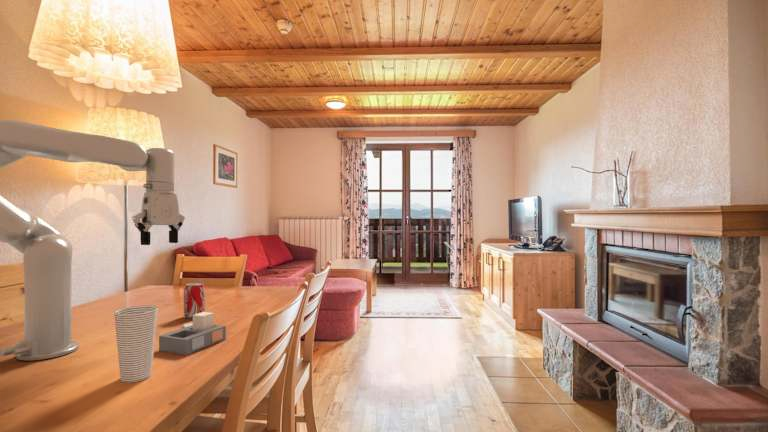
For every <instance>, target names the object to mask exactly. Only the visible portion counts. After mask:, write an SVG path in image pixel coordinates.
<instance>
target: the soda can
mask: <svg viewBox="0 0 768 432" xmlns="http://www.w3.org/2000/svg"><path fill="white" fill-rule="evenodd" d="M201 312H206V288H205V286H204V282H189V283H186V284H185V287H184V289H183V316H184V317H186V319H193V315H194V314H198V313H201Z"/></svg>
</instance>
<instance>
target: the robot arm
mask: <svg viewBox="0 0 768 432" xmlns="http://www.w3.org/2000/svg"><path fill="white" fill-rule="evenodd" d="M27 156H29V157H36V158H43V159H48V160H52V161H53V160H54V161H60V162H64V163H65V162H66V163H85V162H86V163H87V162H88V163H89V162H90V163H97V164H98V163H100V164H107V165H112V166H118V167H119V168H120V169H122V170H123V171H127V172H145V183H143V186H142V187H143V188H144V189H145V192H144V193H143V197H142V203H141V211H140V212H139V213H137V214H134V215H133V216H132V218H131V219H132V221H133V223H134V226H135V227H136V229H138V232H140V245H141V246H143V245H144V246H150V245H151V231H150V229H151V227H152V226H168V228H169V229H170V230H168V243H169V244H178V242H179V231H180V230H181V228H182V226H183V223H184V222H185V216H184V215H182V214H181V213H180V209H179V207H180V206H179V200H178V196H177V193H175V153H174V151H173V150H171V149H168V148H162V147H150V148H148V149H146V148H145V147H144V146H142V145H141V144H140V143H137V142H133V141H130V140H126V139H121V138H117V137H116V138H115V137H110V136H104V135H98V134H92V133H85V132H79V131H71V130H68V129H67V130H65V129H61V128H55V127H50V126H45V125H41V124H36V123H31V122H26V121H21V120H15V119H1V120H0V169H2V168H4V167H7V166H9V165H11V164H13V163H15V162H17V161H19V160H22V159H23V158H25V157H27ZM0 242H1V243H6V244H8V245H10V246H11V247H12V248H14V249H15V250H17V251H18V252H20V253H21V254H23V258H22V259H23V261H22V263H23V274H24V275H23V278H24V279H23V280H24V281H23V282H24V337H23V339H22V338H21V339H19V343H15V345H13V346H8V347H5V348H1V349H0V356H1V357H6V356H10V355H12V354H13V356H15V357H16V360H19V361H27V362H28V361H32V362H33V361H40V360H47V359H53V358H58V357H61V356H64V355H68V354H70V353H72V352H75V351H77V350H78V349H79V343H78V342H77V341H74V340H72V257H73V251H74V250H73V245H72V243H71V241H70V240H69V239H68V238H66V237H65V236H64V235H63V234H62V233H60V232H59V231H57V230H56V229H55V228H53V227H52V226H50V225H49V224H48V223H47V222H45V221H44V220H42V219H41V218H40V217H38V216H37V215H36V214H34V213H33V212H32V211H30V210H28V209H26V208H23V207H18V205H16V204H14V203H12V202H11V201H10V200H8V199H6V198H5V197H4V196H2V195H1V194H0Z"/></svg>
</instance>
